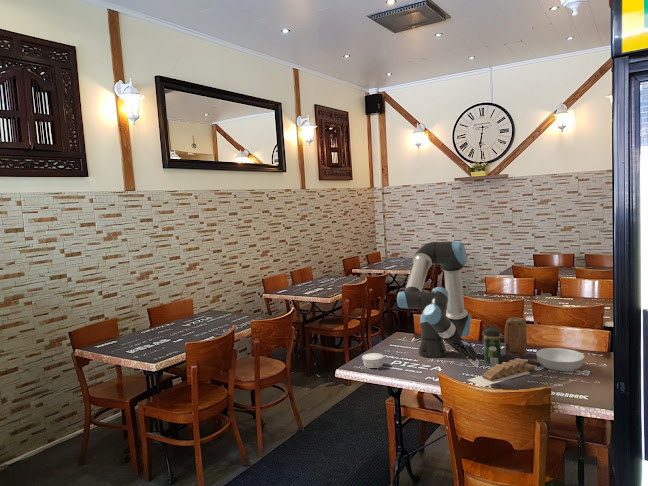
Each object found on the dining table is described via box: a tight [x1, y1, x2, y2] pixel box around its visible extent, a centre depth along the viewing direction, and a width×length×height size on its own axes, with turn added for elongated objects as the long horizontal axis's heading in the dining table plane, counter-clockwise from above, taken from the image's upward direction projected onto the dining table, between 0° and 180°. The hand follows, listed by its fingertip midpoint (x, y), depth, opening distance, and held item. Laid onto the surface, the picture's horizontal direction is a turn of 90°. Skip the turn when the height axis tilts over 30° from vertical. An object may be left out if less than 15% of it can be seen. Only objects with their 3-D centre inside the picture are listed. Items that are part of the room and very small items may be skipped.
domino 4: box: [511, 357, 528, 375], centre depth 227 cm, size 2×5×10 cm
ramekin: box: [361, 352, 385, 369], centre depth 249 cm, size 11×11×5 cm
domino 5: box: [517, 363, 535, 373], centre depth 229 cm, size 2×5×10 cm
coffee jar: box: [483, 325, 502, 366], centre depth 242 cm, size 10×8×19 cm
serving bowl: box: [535, 347, 585, 372], centre depth 231 cm, size 21×21×7 cm
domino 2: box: [496, 361, 513, 379], centre depth 223 cm, size 2×5×10 cm
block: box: [504, 316, 528, 358], centre depth 252 cm, size 11×8×20 cm
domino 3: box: [503, 359, 520, 377], centre depth 225 cm, size 2×5×10 cm
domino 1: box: [481, 364, 506, 381], centre depth 221 cm, size 2×5×10 cm
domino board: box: [467, 371, 531, 388], centre depth 222 cm, size 30×10×1 cm, turn 117°
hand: (476, 363), depth 217 cm, fingers closed
